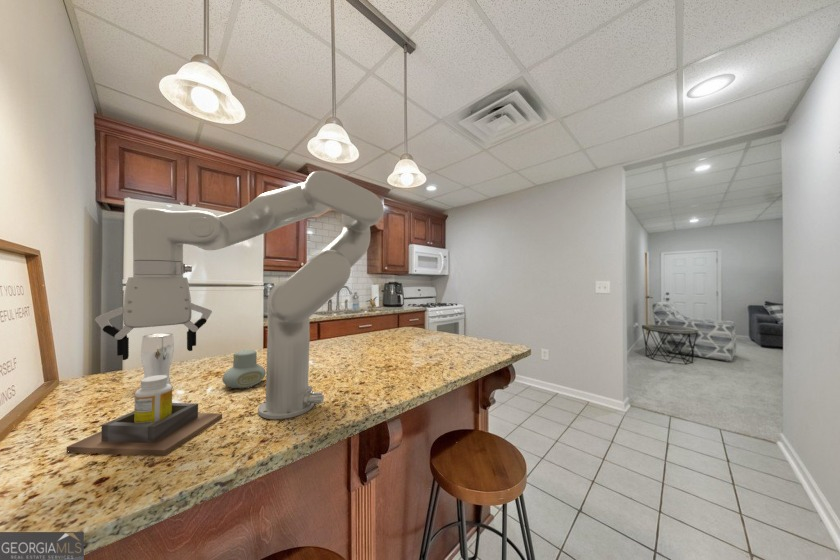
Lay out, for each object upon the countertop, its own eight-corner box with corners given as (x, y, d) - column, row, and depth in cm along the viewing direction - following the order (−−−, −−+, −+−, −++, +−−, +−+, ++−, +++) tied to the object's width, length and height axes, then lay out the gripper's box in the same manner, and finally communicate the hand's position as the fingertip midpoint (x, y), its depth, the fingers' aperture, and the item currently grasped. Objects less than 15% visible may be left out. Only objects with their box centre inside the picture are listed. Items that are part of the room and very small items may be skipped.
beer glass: (176, 385, 83) (177, 334, 83) (144, 393, 77) (145, 338, 77) (167, 380, 86) (169, 332, 87) (136, 387, 81) (138, 335, 81)
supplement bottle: (169, 419, 61) (170, 371, 61) (173, 428, 57) (174, 377, 57) (132, 428, 57) (134, 377, 57) (134, 439, 53) (136, 384, 53)
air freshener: (258, 377, 91) (259, 346, 91) (269, 384, 86) (270, 351, 86) (218, 387, 82) (219, 352, 83) (227, 394, 77) (228, 358, 77)
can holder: (222, 418, 64) (222, 400, 64) (164, 455, 50) (165, 433, 50) (144, 415, 64) (145, 398, 64) (66, 452, 50) (67, 430, 50)
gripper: (208, 271, 66) (209, 344, 66) (97, 270, 54) (98, 358, 54) (213, 271, 61) (214, 349, 61) (91, 269, 49) (92, 367, 49)
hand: (159, 353), depth 58 cm, fingers open, 9 cm apart
